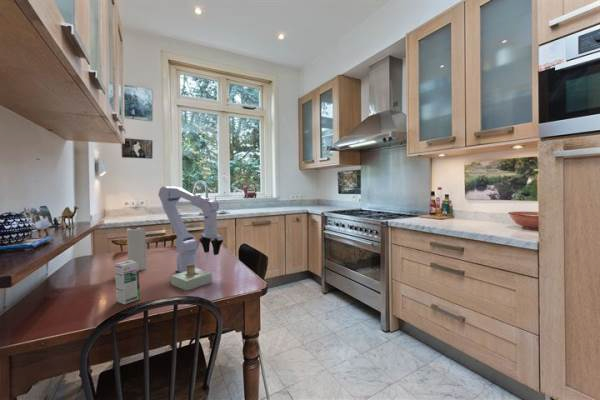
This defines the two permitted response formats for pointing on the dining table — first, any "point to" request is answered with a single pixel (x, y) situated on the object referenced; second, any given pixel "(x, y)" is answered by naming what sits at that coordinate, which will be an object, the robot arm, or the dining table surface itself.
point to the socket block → (191, 279)
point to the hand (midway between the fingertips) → (211, 253)
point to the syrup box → (127, 281)
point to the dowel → (190, 270)
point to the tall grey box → (137, 246)
